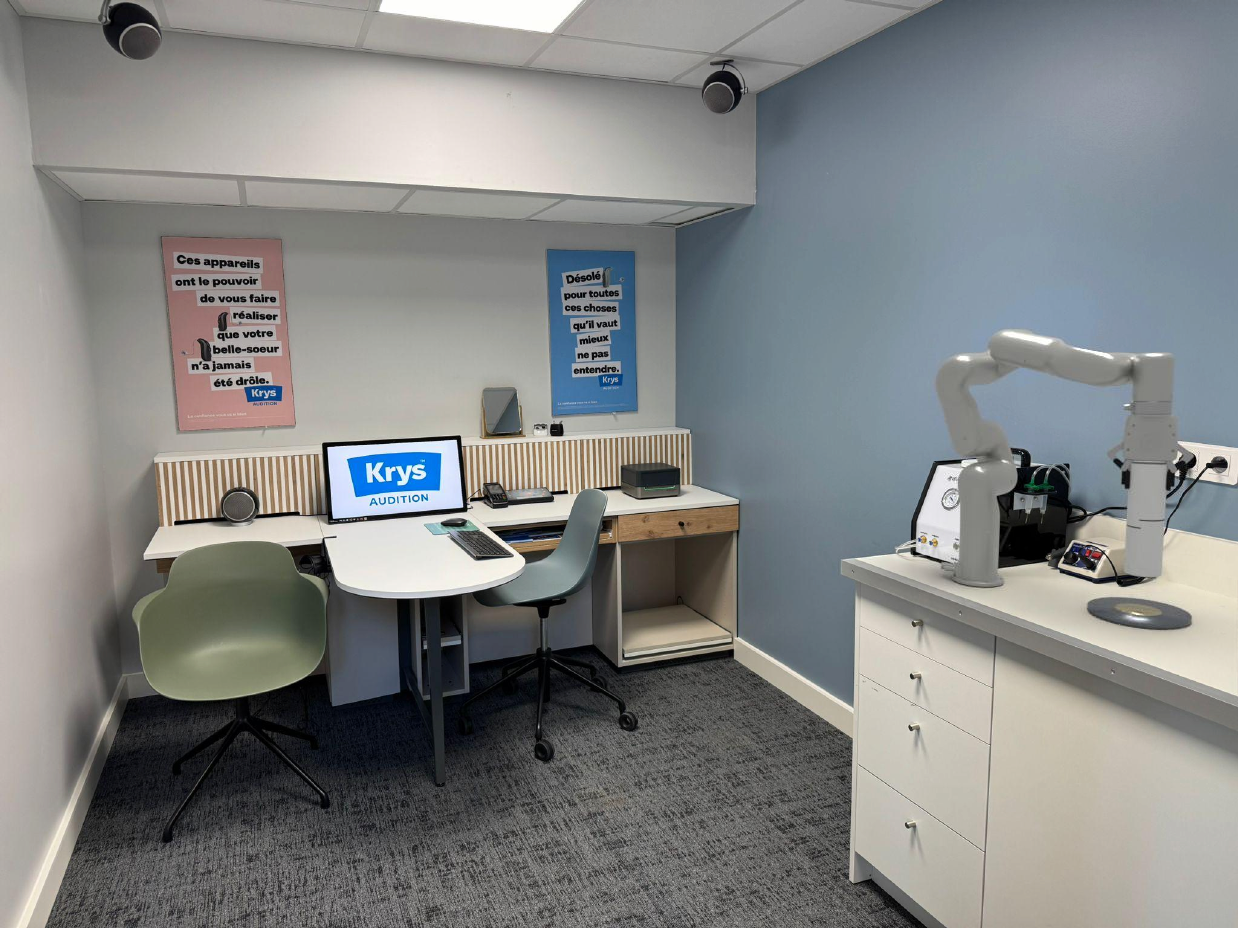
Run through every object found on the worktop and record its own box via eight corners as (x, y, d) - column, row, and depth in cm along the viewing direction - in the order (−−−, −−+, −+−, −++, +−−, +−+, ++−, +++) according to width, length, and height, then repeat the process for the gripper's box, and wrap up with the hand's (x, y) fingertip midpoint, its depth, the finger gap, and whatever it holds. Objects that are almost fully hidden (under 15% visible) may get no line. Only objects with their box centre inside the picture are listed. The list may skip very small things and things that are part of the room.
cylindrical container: (1160, 578, 178) (1166, 465, 175) (1122, 574, 183) (1127, 463, 179) (1162, 571, 184) (1169, 461, 181) (1125, 567, 188) (1131, 460, 185)
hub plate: (1087, 621, 181) (1087, 616, 181) (1086, 597, 198) (1086, 592, 198) (1196, 634, 171) (1197, 628, 171) (1186, 608, 189) (1186, 603, 188)
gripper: (1105, 410, 180) (1102, 489, 182) (1202, 410, 171) (1196, 493, 173) (1104, 408, 186) (1101, 484, 188) (1197, 408, 178) (1192, 488, 180)
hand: (1147, 488), depth 181 cm, fingers closed on cylindrical container, 7 cm apart
